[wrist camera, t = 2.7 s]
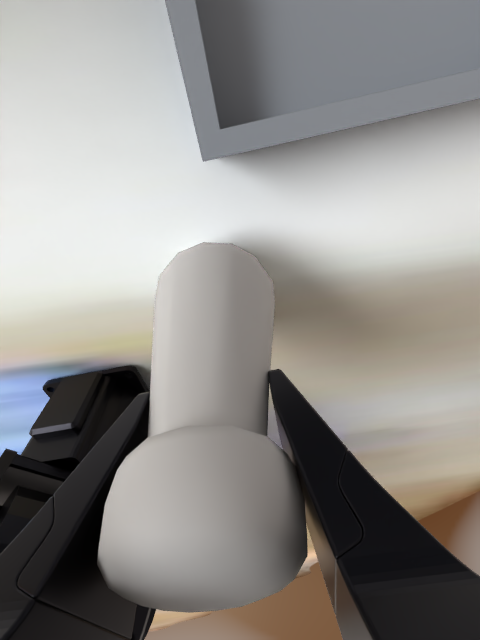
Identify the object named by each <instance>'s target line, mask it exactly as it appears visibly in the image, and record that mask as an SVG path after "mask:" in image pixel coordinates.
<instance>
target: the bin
mask: <svg viewBox="0 0 480 640" xmlns="http://www.w3.org/2000/svg"><path fill="white" fill-rule="evenodd" d="M165 2H166V6H167V11H168V15H169V19H170V23H171V28H172V32H173V36H174V40H175V45H176V49H177V53H178V57H179V62H180V66H181V70H182V74H183V79H184V83H185V87H186V91H187V96H188V100H189V104H190V109H191V113H192V117H193V121H194V126H195V130H196V134H197V138H198V143H199V147H200V151H201V155H202V160H203V162H204V161H208V160H212V159H217V158H221V157H226V156H230V155H234V154H239V153H243V152H247V151H252V150H256V149H261V148H265V147H269V146H274V145H278V144H283V143H287V142H291V141H296V140H300V139H305V138H309V137H313V136H318V135H322V134H326V133H331V132H335V131H340V130H344V129H348V128H353V127H357V126H362V125H366V124H370V123H375V122H379V121H384V120H388V119H392V118H397V117H401V116H405V115H410V114H414V113H419V112H423V111H427V110H432V109H436V108H441V107H445V106H449V105H454V104H458V103H463V102H467V101H471V100H476V99H480V0H165Z"/></svg>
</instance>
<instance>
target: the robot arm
mask: <svg viewBox="0 0 480 640" xmlns="http://www.w3.org/2000/svg"><path fill="white" fill-rule="evenodd" d="M129 373H131V374H129ZM268 378H269V383H270V389H271V394H272V399H273V405H274V410H275V415H276V420H277V426H278V431H279V435H280V440H281V443H282V447H283V450H284V451H285V452H286V453H287V454H288V455H289V457H290V459H291V460H292V462H293V464H294V465H295V468H296V471H297V474H298V477H299V481H300V484H301V488H302V491H303V495H304V499H305V514H306V523H307V526H308V530H309V533H310V536H311V539H312V542H313V545H314V549H315V552H316V555H317V558H318V561H319V564H320V568H321V571H322V574H323V577H324V580H325V584H326V587H327V590H328V593H329V596H330V599H331V603H332V605H333V609H334V612H335V614H336V618H337V622H338V625H339V628H340V631H341V634H342V638H343V640H480V576H479V575H478V574H476V573H475V572H473V571H472V570H471V569H469V568H468V567H467V566H466V565H464V564H463V563H462V562H461V561H460V560H459V559H457V558H456V557H455V556H454V555H453V554H451V553H450V552H449V551H448V550H447V549H446V548H445V547H444V546H443V545H442V544H441V543H440V542H439V541H438V540H437V539H436V538H435V537H434V536H432V535H431V534H430V533H429V532H428V531H427V530H426V529H425V528H424V527H423V526H422V525H421V524H420V523H419V522H418V521H417V520H416V519H415V518H414V517H413V516H412V515H411V514H410V513H409V512H407V511H406V510H405V509H404V508H403V507H402V506H401V505H400V504H399V503H398V502H397V501H396V500H395V499H394V498H393V497H392V496H391V495H390V494H389V493H388V492H387V491H386V490H385V489H384V488H383V487H382V486H381V485H380V484H379V483H378V482H377V481H376V480H375V479H374V478H373V477H372V476H371V475H370V473H369V472H368V471H367V470H366V469H365V468H364V467H363V466H362V465H361V463H360V462H359V461H358V460H357V459H356V458H355V456H354V455H353V454H352V453H351V452H350V451H349V450H348V449H347V447H346V446H345V445H344V444H343V442H342V441H341V440H340V439H339V438H338V437H337V435H336V434H335V433H334V432H333V431H332V430H331V428H330V427H329V426H328V425H327V424H326V422H325V421H324V420H323V419H322V418H321V417H320V415H319V414H318V413H317V412H316V411H315V409H314V408H313V407H312V406H311V405H310V404H309V402H308V401H307V400H306V399H305V398H304V397H303V395H302V394H301V393H300V392H299V391H298V389H297V388H296V387H295V386H294V385H293V384H292V382H291V381H290V380H289V379H288V378H287V376H286V375H285V374H284V373H283V372H282V371H281V370H280V369H276V370H270V371H268ZM43 390H44V392H45V393H46V394H47V395H48V396H49V397H50V399H49V401H48V403H47V404H46V406H45V407H44V409H43V411H42V412H41V414H40V415H39V417H38V418H37V420H36V422H35V423H34V425H33V426H32V428H31V430H30V433H29V434H30V435H31V436H32V438H31V439H30V441H29V442H28V444H27V446H26V447H25V449H24V451H23V452H22V454H21V455H18V454H17V452H16V451H13V450H9V449H5V451H4V452H3V454H2V455H1V457H0V640H144V639H145V637H146V635H147V633H148V630H149V628H150V626H151V623H152V621H153V617H154V614H155V611H156V609H154V608H149V607H145V606H141V605H139V604H136V603H134V602H131V601H129V600H127V599H125V598H123V597H122V596H120V595H119V594H117V593H115V592H114V591H112V590H111V589H109V588H108V586H107V584H106V582H105V580H104V578H103V576H102V573H101V571H100V569H99V567H98V565H97V559H98V549H99V542H100V535H101V528H102V521H103V514H104V507H105V502H106V500H107V497H108V494H109V491H110V488H111V486H112V483H113V480H114V477H115V474H116V472H117V470H118V468H119V467H120V465H121V464H122V462H123V461H124V459H125V458H126V456H127V455H128V454H130V453H131V452H132V451H133V450H134V449H135V448H136V447H138V446H139V445H140V444H141V443H142V442H143V441H144V440H146V439H147V438H148V423H149V403H150V392H149V390H148V388H147V387H146V385H145V383H144V381H143V379H142V378H141V376H140V374H139V372H138V370H137V369H136V368H135V367H133V366H124V367H118V368H113V369H108V370H102V371H97V372H91V373H86V374H80V375H75V376H69V377H64V378H58V379H53V380H49V381H47V382H46V383H45V384H44V386H43Z"/></svg>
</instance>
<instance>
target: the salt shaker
mask: <svg viewBox="0 0 480 640" xmlns="http://www.w3.org/2000/svg"><path fill="white" fill-rule="evenodd" d="M274 311H275V298H274V286H273V280H272V279H271V278H270V276H269V275H268V273H267V272H266V271H265V269H264V268H263V266H262V265H261V264H260V262H259V261H258V260H257V258H256V257H255V256H253V255H252V254H250V253H248V252H246V251H244V250H242V249H241V248H239V247H237V246H235V245H233V244H227V243H206V242H203V243H200V244H198V245H196V246H193V247H191V248H189V249H186V250H184V251H181V252H179V253H178V254H177V255H176V256H175V257H174V258H173V260H172V261H171V262H170V263H169V265H168V266H167V267H166V268H165V269H164V271H163V272H162V273H161V274H160V276H159V278H158V284H157V290H156V296H155V305H154V325H153V344H152V364H151V383H150V403H149V423H148V438H147V439H146V440H144V441H143V442H142V443H141V444H140V445H139V446H138V447H136V448H135V449H134V450H133V451H132V452H131V453H130V454H128V455H127V456H126V458H125V459H124V461H123V462H122V464H121V465H120V467H119V468H118V470H117V472H116V474H115V477H114V480H113V483H112V486H111V488H110V491H109V494H108V497H107V500H106V502H105V507H104V514H103V521H102V528H101V535H100V542H99V549H98V559H97V565H98V567H99V569H100V571H101V573H102V576H103V578H104V580H105V582H106V584H107V586H108V588H109V589H111V590H112V591H114V592H115V593H117V594H119V595H120V596H122V597H123V598H125V599H127V600H129V601H131V602H134V603H136V604H139V605H141V606H145V607H149V608H154V609H159V610H163V611H176V612H204V611H217V610H223V609H230V608H235V607H242V606H244V605H247V604H250V603H252V602H255V601H258V600H260V599H263V598H265V597H267V596H270V595H272V594H274V593H277V592H279V591H281V590H282V589H283V588H284V587H286V586H287V585H288V584H289V583H290V582H292V581H293V580H294V579H295V577H296V575H297V574H298V572H299V570H300V568H301V566H302V565H303V563H304V561H305V559H306V557H307V529H306V514H305V499H304V495H303V491H302V488H301V484H300V481H299V477H298V474H297V471H296V468H295V465H294V464H293V462H292V460H291V459H290V457H289V455H288V454H287V453H286V452H285V451H283V450H282V449H281V448H280V447H279V446H278V445H276V444H275V443H274V442H273V441H272V440H271V439H270V438H268V437H267V425H268V400H269V378H268V371H270V366H271V352H272V339H273V325H274Z"/></svg>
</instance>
